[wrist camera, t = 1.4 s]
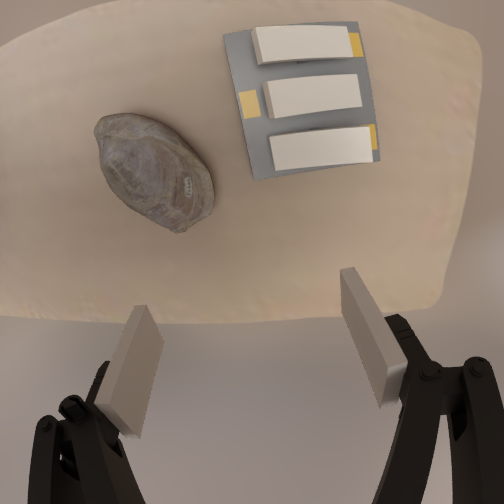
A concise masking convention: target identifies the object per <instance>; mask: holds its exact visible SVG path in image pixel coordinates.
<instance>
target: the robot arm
mask: <svg viewBox="0 0 504 504" xmlns="http://www.w3.org/2000/svg"><path fill="white" fill-rule="evenodd" d="M340 283H341V306H342V314H343V316H344V319H345V321H346V323H347V326H348V328H349V331H350V333H351V336H352V338H353V340H354V343H355V345H356V348H357V351H358V353H359V356H360V358H361V360H362V363H363V365H364V368H365V371H366V373H367V376H368V379H369V381H370V384H371V387H372V389H373V392H374V395H375V397H376V400H377V403H378V405H379V408H380V409H383V408H386V407H389V406H393V405H396V404H397V402H398V399H399V397H400V400H401V402H402V409H401V412H400V415H399V421H398V425H397V428H396V432H395V436H394V440H393V443H392V446H391V450H390V453H389V456H388V460H387V463H386V466H385V469H384V472H383V475H382V477H381V481H380V483H379V486H378V489H377V491H376V494H375V497H374V499H373V502H372V504H421V501H422V498H423V494H424V491H425V488H426V484H427V480H428V476H429V472H430V468H431V464H432V459H433V454H434V450H435V444H436V439H437V433H438V428H439V421H440V415H447V421H448V429H449V438H450V449H451V463H452V485H453V486H452V487H453V504H504V408H503V404H502V400H501V396H500V393H499V389H498V386H497V382H496V379H495V376H494V372H493V369H492V366H491V365H490V363H489V362H488V361H487V360H486V359H484V358H481V357H471V358H469V359H468V360H466V361H465V363H464V365H463V366H461V367H442V366H441V365H440V364H439V363H437V362H435V361H431V359H430V358H429V356H428V355H427V353H426V351H425V350H424V348H423V346H422V345H421V343H420V341H419V340H418V338H417V337H416V336H415V333H414V331H413V330H412V329H411V327H410V325H409V324H408V322H407V320H406V319H404V318H403V317H401V316H400V315H399V314H395V315H391V316H387V317H383V315H382V313H381V311H380V310H379V308H378V306H377V305H376V303H375V301H374V299H373V298H372V296H371V294H370V293H369V291H368V289H367V288H366V286H365V284H364V283H363V281H362V279H361V278H360V276H359V274H358V273H357V271H356V269H355V268H354V267H351V268H347V269H342V270H340ZM163 344H164V340H163V338H162V336H161V334H160V332H159V330H158V328H157V326H156V324H155V322H154V320H153V318H152V316H151V313H150V311H149V309H148V307H147V305H141V306H134V308H133V310H132V313H131V315H130V317H129V319H128V321H127V324H126V326H125V328H124V330H123V333H122V335H121V337H120V340H119V342H118V344H117V347H116V349H115V352H114V354H113V356H112V359H111V361H105V362H104V363H103V364H102V365H101V367H100V368H99V369H98V372H97V374H96V376H95V377H96V378H95V379H94V382H93V385H92V386H91V388H90V391H89V393H88V396H87V398H86V401H85V402H84V401H83V400H82V398H81V397H79V396H78V395H71V396H68V397H67V398H65V399H64V400H63V401H62V402H61V404H60V405H59V410H58V411H59V413H61V415H62V416H63V417H64V418H65V420H60V421H58V420H57V419H56V418H55V417H53V416H51V415H46V416H44V417H42V418H41V419H40V420H39V421H38V423H37V426H36V431H35V436H34V443H33V449H32V457H31V465H30V474H29V487H28V504H146V503H145V501H144V499H143V497H142V494H141V492H140V490H139V487H138V485H137V482H136V480H135V478H134V475H133V473H132V470H131V467H130V465H129V462H128V459H127V456H126V454H125V451H124V448H123V445H122V442H121V441H120V439H119V438H118V435H119V432H121V434H122V435H124V437H125V438H136V439H140V436H141V432H142V427H143V423H144V419H145V415H146V411H147V406H148V402H149V398H150V394H151V390H152V386H153V382H154V378H155V374H156V371H157V367H158V363H159V359H160V356H161V352H162V348H163ZM60 454H61V455H62V459H61V460H60Z"/></svg>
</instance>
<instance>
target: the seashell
mask: <svg viewBox="0 0 504 504" xmlns="http://www.w3.org/2000/svg"><path fill="white" fill-rule="evenodd" d="M94 135H95V137H96V140H97V142H98V146H99V155H100V167H101V170H102V172H103V174H104V176H105V178H106V181H107V183H108V185H109V186H110V188H111V189H112V191H113V192H114V193H115V194H116V195H117V196H118V197H119V198H120V199H121V200H122V201H123V202H124V203H125V204H126V205H127V206H128V207H130V208H131V209H133V210H134V211H136V212H138V213H140V214H141V215H143V216H145V217H147V218H148V219H150V220H152V221H154V222H155V223H157V224H159V225H161V226H164V227H166V228H169V229H170V230H171V231H173V232H174V233H181V232H185V231H186V230H187V228H188V227H190V226H191V225H192V224H194V223H196V222H197V221H199V220H201V219H202V218H205V217H207V216H208V215H209V214H210V213H211V211H212V208H213V204H214V196H215V194H214V190H213V184H212V180H211V177H210V173H209V171H208V169H207V167H206V166H205V164H204V163H203V161H202V160H201V159H200V158H199V157H198V156H197V155H196V153H195V152H194V151H193V150H192V148H191V147H190V146H189V145H188V144H187V143H186V142H185V141H184V140H182V138H181V137H180V136H179V135H178V134H177V133H175V132H174V131H173V130H172V129H170V128H169V127H167V126H165V125H163V124H161V123H159V122H157V121H155V120H153V119H150V118H148V117H145V116H141V115H137V114H133V113H120V114H113V115H109V116H105V117H102V118H101V119H100V120H99V121H98V123H97V124H96V126H95V129H94Z"/></svg>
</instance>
